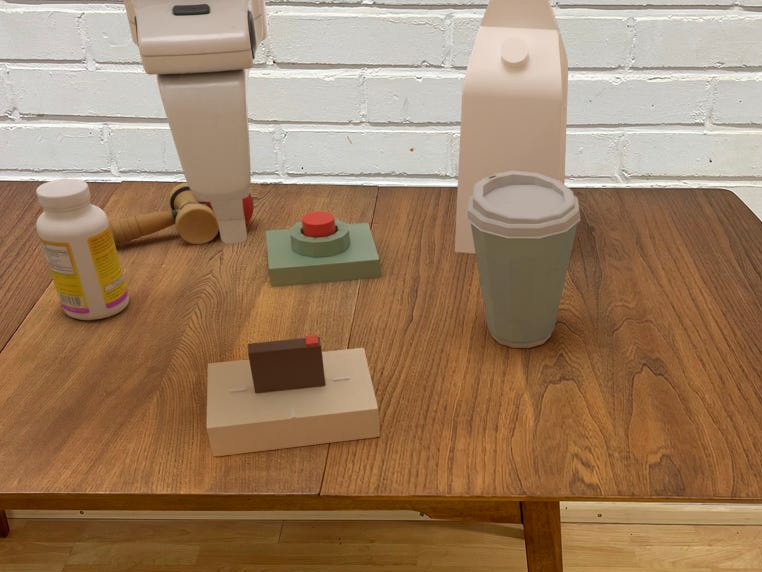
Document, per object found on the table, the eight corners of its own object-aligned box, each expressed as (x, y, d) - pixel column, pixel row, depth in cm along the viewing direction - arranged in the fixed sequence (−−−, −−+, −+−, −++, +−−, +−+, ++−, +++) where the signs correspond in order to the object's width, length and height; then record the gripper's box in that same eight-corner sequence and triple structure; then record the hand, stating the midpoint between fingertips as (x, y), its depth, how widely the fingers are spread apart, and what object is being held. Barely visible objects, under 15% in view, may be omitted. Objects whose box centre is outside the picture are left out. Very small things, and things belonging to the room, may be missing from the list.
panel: (212, 457, 74) (205, 427, 72) (213, 390, 82) (207, 361, 80) (380, 437, 76) (378, 407, 74) (366, 374, 84) (363, 345, 82)
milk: (563, 219, 112) (580, -12, 95) (556, 259, 103) (574, 12, 87) (469, 213, 113) (470, -17, 97) (454, 252, 104) (453, 6, 88)
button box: (271, 287, 97) (266, 253, 95) (267, 248, 105) (263, 215, 102) (380, 277, 99) (378, 244, 97) (369, 239, 107) (367, 207, 104)
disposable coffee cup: (592, 335, 90) (608, 191, 80) (517, 374, 84) (524, 223, 75) (518, 298, 96) (525, 159, 86) (443, 332, 90) (441, 187, 81)
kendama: (114, 275, 102) (266, 229, 106) (91, 220, 98) (248, 175, 102) (111, 258, 108) (254, 215, 112) (89, 207, 104) (237, 165, 109)
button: (304, 240, 98) (302, 225, 97) (302, 227, 101) (300, 212, 100) (337, 238, 99) (335, 223, 98) (334, 224, 101) (332, 210, 100)
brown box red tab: (255, 393, 76) (247, 350, 73) (254, 383, 77) (247, 340, 74) (325, 385, 77) (320, 343, 74) (324, 375, 78) (319, 333, 75)
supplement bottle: (128, 288, 97) (97, 170, 88) (133, 316, 92) (101, 195, 84) (62, 298, 95) (24, 179, 86) (64, 327, 90) (24, 204, 82)
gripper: (156, -21, 65) (194, 166, 74) (135, 52, 50) (187, 277, 59) (243, -24, 66) (271, 161, 75) (250, 46, 51) (283, 268, 60)
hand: (234, 213), depth 67 cm, fingers open, 8 cm apart
